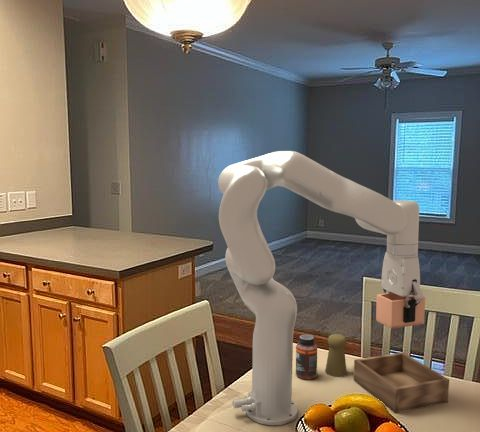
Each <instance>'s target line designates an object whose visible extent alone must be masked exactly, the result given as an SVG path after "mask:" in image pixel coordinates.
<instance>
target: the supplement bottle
mask: <svg viewBox="0 0 480 432" xmlns="http://www.w3.org/2000/svg"><path fill="white" fill-rule="evenodd" d="M317 375H318V345H317V344H316V343H315V337H314V336H313V335H311V334H302V335H300V336H299V341H298V342H297V343H296V345H295V376H297V378H299V379H303V380H311V379H314V378H317Z"/></svg>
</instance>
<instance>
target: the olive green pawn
mask: <svg viewBox="0 0 480 432" xmlns="http://www.w3.org/2000/svg"><path fill="white" fill-rule="evenodd" d="M327 343H328V346H329V348H328V352H327V353H328V354H327V360H326V364H325V370H324V371H325V374H326V375H328V376H329V377H333V378H343V377H346V376H347V374H348V373H347V363H346V351H345V347H346V346H347V339H346V337H345V336H344V335H342V334H341V333H339V334H338V333H332V334H330V335H329V336H328V338H327Z"/></svg>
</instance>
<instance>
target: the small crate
mask: <svg viewBox="0 0 480 432" xmlns="http://www.w3.org/2000/svg"><path fill="white" fill-rule="evenodd" d="M409 294H410V293H409ZM408 298H409V302H410V301H411V300H412V299H411V297H408ZM425 305H426V297H425V296H424V298H423V299H422V300H421V301H420V303H419V304H418V306H417V307H416V310H415V321H414V322H409V323H405V322H403V314H404V307H406V306H405V302H404V297H401V296H398V295H396V294H393V293H386V294H385V293H379V294H376V308H375V309H376V310H375V311H376V312H375V313H376V314H375V316H376V317H375V321H376V322H378V323H379V324H381V325H383V326H385V327H387V328H389V329H391V330H392V329H398V328H407V327H412V326H418V325H425V315H426V314H425V309H426V306H425Z"/></svg>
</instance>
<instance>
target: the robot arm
mask: <svg viewBox="0 0 480 432" xmlns="http://www.w3.org/2000/svg"><path fill="white" fill-rule="evenodd" d="M217 182H218V183H217V184H218V187H219V191H220V193H221V194H222V198H221V201H220V204H219V205H220V206H219V210H218V222H219V229H220V231H221V233H222V236H223V238H224V240H225V241H224V242H225V243H226V246H227V248H226V251H225V255H224V256H225V258H224V259H225V265H226V268H227V270H228V272H229V274H230V278H231V279H232V281H233V283H234V285H235V288H236V289H237V292H238V294H239V296H240V298H241V300H242V303H244V305H245V306H246V308H248V310H250V312H252V314H254V316H255V324H254V329H253V333H252V334H253V335H252V372H251V375H252V376H251V377H252V378H251V379H252V381H251V383H252V384H251V387H252V388H251V390H249V391H248V393H247V394H248V396H245V397H244V398H237V399H236V398H235V399H232V401H231V402H232V407H233V409H238V408H240V411H241V412H242V413H243V412H245V414H246V416H247V417H248V418H250V420H252V421H253V422H255V423H259V424H261V425H265V426H266V425H268V426H279V425H280V426H281V425H286V424H289V423H290V422H293V421H294V420H295V419H296V418H297V417H298V414H299V412H298V411H299V408H298V405H297V403H296V402H294V400H292V398H293V397H292V394H293V392H292V391H293V360H294V359H293V354H294V353H293V352H294V351H293V349H294V344H293V343H294V330H295V324H296V319H297V314H298V305H297V301H296V297H295V296H294V294H293V292H291V291H290V289H288V288H287V287H286V286H285V285H283V284H282V283H280V282H278V281H276V280H274V278H273V277H274V275H275V272H276V261H275V257H274V255H273V253H272V251H271V249H270V247H269V245H268V242H267V240H266V238H265V236H264V233H263V232H262V228H261V225H260V222H259V220H258V208H259V205H260V202H261V201H262V199H263V198H264V196H265V194H266V191H267V190H270V189H273V188H276V187H282V188H285V189H288V190H289V191H291V192H293V193H295V194H297V195H299V196H301V197H303V198H304V199H307V200H309V201H310V202H312V203H314V204H316V205H318V206H320V207H321V208H324V209H326V210H329V211H331V212H334V213H338V214H341V215H345V216H348V217H351V218H354V220H355V222H356V224H357V225H358V226H359V227H361V228H362V229H364V230H366V231H367V230H368V231H370V232H374V233H378V234H379V233H380V234H383V235H386V252H384V253H385V254H384V257H383V262H382V267H381V280H380V285H381V287H382V290H383V292H384V294H386V293H393V294H396V295H398V296H401V297H404V302H405V306H406V307H404V314H403V322H405V323H409V322H414V321H415V310H416V307H417V306H418V304H419V303H420V301H421V300H422V299H423V298H424V297H425V295H424V294H423V292H422V291H421V289H420V288H421V271H420V261H419V260H420V259H419V255H418V254H419V229H420V228H419V224H420V205H419V203H418V202H416V201H415V200H407V199H406V200H404V199H403V200H402V199H401V200H400V199H399V200H392V199H390V198H389V197H386V196H384V195H383V194H381V193H379V192H377V191H375V190H372V189H371V188H368V187H366V186H364V185H361V184H359V183H357V182H355V181H353V180H351V179H349V178H346V177H344V176H342V175H340V174H338V173H336V172H335V171H332V170H331V169H329V168H327V167H326V166H324V165H322V164H321V163H318V162H317V161H315V160H313V159H311V158H310V157H307V156H306V155H304V154H302V153H300V152H297V151H294V150H277V151H272V152H270V153H266V154H264V155H260V156H257V157H254V158H250V159H247V160H243V161H240V162H237V163H232V164H230V165H228V166H226V167H225V168H224V169H223V170H222V171H221V173H220V174H219V176H218V181H217ZM409 293H410V294H409ZM408 297H411V299H412V300H411V301H410V302H409V298H408Z"/></svg>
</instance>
